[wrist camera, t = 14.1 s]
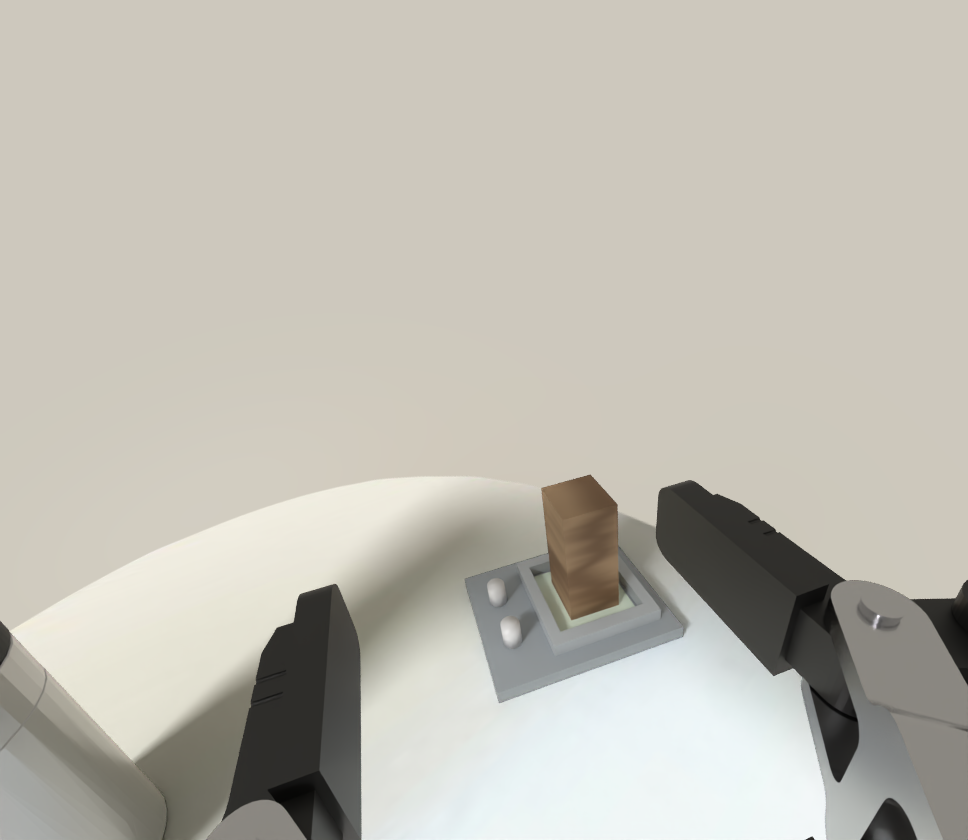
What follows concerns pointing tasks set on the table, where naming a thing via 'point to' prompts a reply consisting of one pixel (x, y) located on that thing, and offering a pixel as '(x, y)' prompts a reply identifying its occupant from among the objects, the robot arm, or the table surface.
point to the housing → (560, 625)
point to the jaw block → (582, 545)
